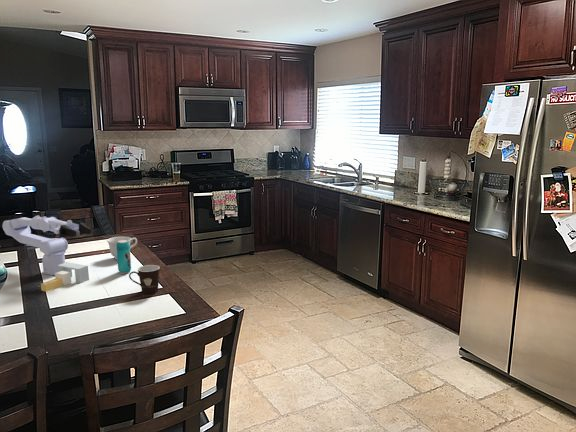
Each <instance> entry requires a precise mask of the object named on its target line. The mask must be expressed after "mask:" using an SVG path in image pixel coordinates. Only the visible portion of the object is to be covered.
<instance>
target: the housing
mask: <svg viewBox="0 0 576 432" xmlns="http://www.w3.org/2000/svg"><path fill="white" fill-rule="evenodd" d="M72 270H74V276H75V277H74V278H75V283H76V284H77V283H78V284H81V283H84V282H87V281H89V280H90V277H89V275H90V274H89V265H87V264H81V263H80V264H79V263H74V262H68V261H67V262H66V261H65V263H63V264H60V265H58V272H60V271H68V272H71V278H72V277H73V272H72Z"/></svg>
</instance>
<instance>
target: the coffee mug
mask: <svg viewBox="0 0 576 432" xmlns="http://www.w3.org/2000/svg"><path fill="white" fill-rule="evenodd" d="M128 274H129V275H128V277H129V280H130V281H132V282H133V283H135V284H137V285H139V287H140V288H141V293H142V294H144V295H153V294H156V293H158V291H159V285H160V284H159V281H160V266H159V265H156V264H147V265H143V266H140V267H139V266H138V268H137V271H130V272H129V273H128ZM133 274H137V276H138V277H139V282H140V283H139V282H138V281H136V280H134V278H132V276H131V275H133Z"/></svg>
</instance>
